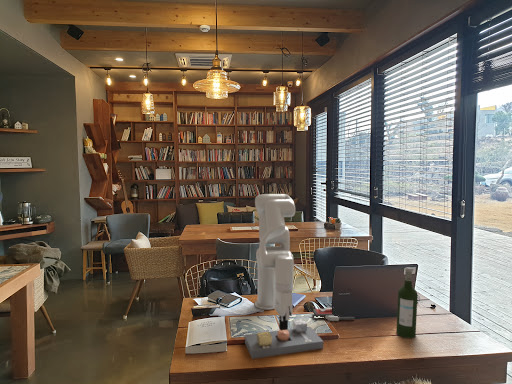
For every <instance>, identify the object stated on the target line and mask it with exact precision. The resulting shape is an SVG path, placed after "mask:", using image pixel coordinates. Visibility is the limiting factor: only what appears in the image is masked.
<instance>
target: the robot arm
mask: <svg viewBox="0 0 512 384" xmlns="http://www.w3.org/2000/svg"><path fill="white" fill-rule="evenodd" d="M254 204H255V205H254V206H255V209H256V212H257V215H258V239H259V247H258V248H257V249H256V252H255V254H256V255H255V257H256V264H257V265H256V266H257V300H256V301H255V302H254V307H255V308H257V309H259V310H264V311H269V310H270V311H271V310H275V312H276V313H277V314H278V318H279V320H278V323H279V324H278V325H279V327H278V328H279V330H287V329H288V328H289V321H290V317H291V316H292V315H293V293H292V292H293V291H294V267H295V266H294V264H295V263H294V260H295V259H294V255H293V254H292V252H291V251H290V249H291V248H290V246H291V243H290V241H291V238H290V237H291V236H290V230H289V228H288V227H287V226H286V223H285V222H286V221H285V218H291V217H294V216H295V214H296V205H295V202H294V200H293V199H292V197H290V195H289V194H286V193H263V194H262V193H261V194H259V195H256V197H255V198H254ZM267 245H268V246H267Z"/></svg>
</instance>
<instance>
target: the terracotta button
mask: <svg viewBox="0 0 512 384" xmlns="http://www.w3.org/2000/svg"><path fill="white" fill-rule="evenodd" d="M277 331H278V332H277V339H278V340H279V341H283V342H284V341H288V340H289V331H287V330H280V329H278V330H277Z"/></svg>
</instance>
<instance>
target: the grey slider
mask: <svg viewBox="0 0 512 384" xmlns="http://www.w3.org/2000/svg"><path fill="white" fill-rule="evenodd" d="M307 327H308V322H307V321H305V319H302V318H301V319H294V320H292V329H294V331H295V332H296V333H297V332H305V331H307Z"/></svg>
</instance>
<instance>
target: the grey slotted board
mask: <svg viewBox="0 0 512 384" xmlns="http://www.w3.org/2000/svg"><path fill="white" fill-rule="evenodd" d="M278 331H279V330H273V331H269V333H270V334H271V336H272V345H265V346H259V344H258V342H257V333H258V332H256V333H251V334H249V333H248V334H244V336H243V337H244V339H245V342H244V344H245V346H246V348H247V351H248V353H249V356H250V357H251V359H252V360H253V359H259V358H260V359H261V358H266V357H267V358H268V357H273V356H274V357H275V356H280V355H288V354H293V353H300V352H306V351H314V350H315V351H316V350H320V349H321V350H322V349H324V340H323V339H322V338H321V337H320V335H318V333H317V332H315V330H314V329H313V328H312V327H311V326H307V331H305V332H297V333H296V332H295V331H294V329H293V328H289V329H287V331H289V340H288V341H284V342H283V341H279V340H278V339H277V332H278Z"/></svg>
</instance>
